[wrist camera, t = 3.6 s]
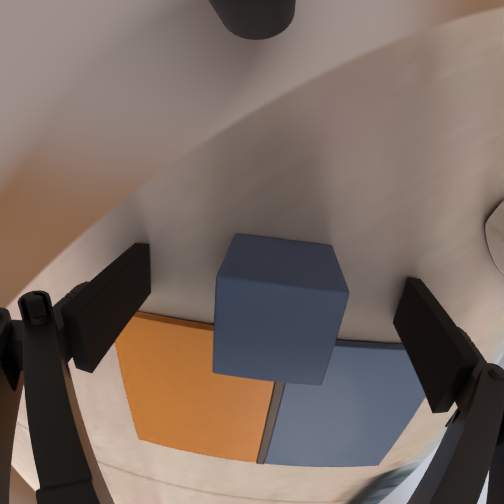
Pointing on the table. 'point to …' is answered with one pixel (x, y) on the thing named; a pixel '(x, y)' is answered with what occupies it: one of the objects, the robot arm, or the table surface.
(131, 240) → the table surface
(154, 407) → the sorting board
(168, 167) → the table surface
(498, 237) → the eye dropper bottle
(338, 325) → the blue block
